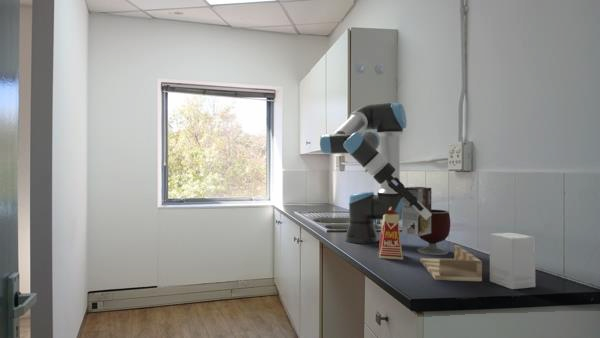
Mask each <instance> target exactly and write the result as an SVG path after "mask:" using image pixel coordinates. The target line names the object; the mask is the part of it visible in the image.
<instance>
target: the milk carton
mask: <svg viewBox="0 0 600 338" xmlns="http://www.w3.org/2000/svg"><path fill="white" fill-rule="evenodd" d="M391 208H392V207H390V208H389V211H388V212H387V213H385V214H384V215H383V220H381V227H380V234H379V235H380V236H379V244H378V245H379V246H378V248H379V249H378V254H379V256H378V259H389V260H404V255H403V250H402V240H401V232H400V231H401V230H400V221H399V214H398V213H396V212H394V211H392V210H391Z"/></svg>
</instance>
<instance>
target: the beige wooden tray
mask: <svg viewBox="0 0 600 338" xmlns="http://www.w3.org/2000/svg"><path fill="white" fill-rule="evenodd" d="M453 249H454V250H453V253H454V255H453V256H454V257H453V258H436V257H435V258H433V257H420V258H419V261H420V263H421V265H422V266H423V267H424V268H425V270H427V272H428V273H429V274H430V275H431V276H432V277H433V278H434V281H435V280H436V281H460V282H462V281H465V282H483V261H482V260H480V259H479V258H478V257H476V256H475V255H473V254H472V253H470V252H469V251H467V250H466V249H465V248H463V247H462V246H460V245H454V247H453Z"/></svg>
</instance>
